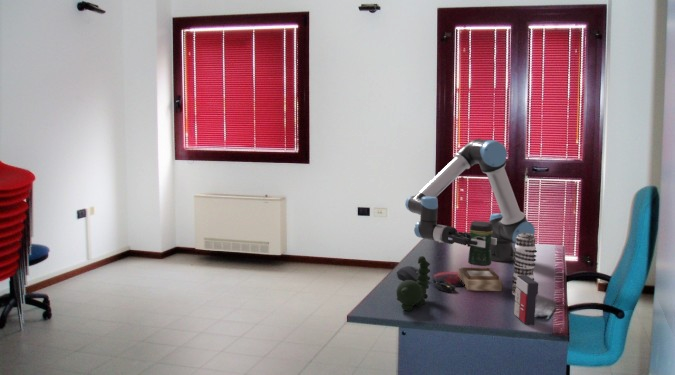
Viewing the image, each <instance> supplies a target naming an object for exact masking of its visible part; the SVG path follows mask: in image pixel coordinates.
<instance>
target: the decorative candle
mask: <svg viewBox="0 0 675 375" xmlns="http://www.w3.org/2000/svg"><path fill="white" fill-rule="evenodd" d="M536 239H537V237H535V234H534V235H533V234H530V233H519V234H518V235H517V236H516V244H515V243H514V244H515V245H514V247H513V249H514V250H513V251H514V253H513V254H514V256H515V257H514V258H513V259H514V261H512V264H513V267H514V270H513V276H512V284H511V294H512V295H513V296H515V291H516V288H517V287H516V283H517V276H518V275H527V276H529V277H530V278H531V279H533V280H534V281H535V277H534V270H535V269H534V268H535V266H536V264H535V263H534V262H536V261H537V259H536V257H537V255H536V254H535V253H537V252H538V251H537V250H536V249H537V247H536Z"/></svg>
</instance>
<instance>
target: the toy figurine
mask: <svg viewBox="0 0 675 375" xmlns="http://www.w3.org/2000/svg"><path fill="white" fill-rule="evenodd" d="M417 264H419V268H418V269H419V270H418V271H419V274H418V276H417V279H418V280H417V282H415V281H413V280H405V281H403V280H402V281H401V282H400V283H399V284H398V286H397V287H396V300H397V302H400V303H401V309H402V310H404V311H407V312H410V311H412V310H413V309H414V306H415V305H416V306H417V307H421V306H422V305H425V304H426V300H427V299H428V297H429V295H428V294H427V290H428V289H429V288H430V285H429V283H427V282H429V281H430V280H431V277H430V276H429V275H428V274H429V273H431V269H429V266H430V265H431V263H430V262H428V261H427V259H426V257H425V256H423V255H420V256H419V257H418V259H417Z"/></svg>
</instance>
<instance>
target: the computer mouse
mask: <svg viewBox="0 0 675 375" xmlns="http://www.w3.org/2000/svg"><path fill="white" fill-rule="evenodd" d="M418 270H419V268H417V267H415V266H412V265H411V266H410V265H406V266H402V267H401V268H399V269H398V270H397V271H396V276H397V278H398V280H401V281H402V282H403V281H405V280H413V281H415V282H417V280H418V279H417V276H418V274H419V271H418ZM427 283H428V284H433V285H435V287H436V288H437V289H438V290H440V291H441V292H443V293H454V292H455V290H456V285H454V284H451V283H449V282H446V281H443V280H436V281H435V282H432V281H431V282H430V281H427Z"/></svg>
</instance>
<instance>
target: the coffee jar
mask: <svg viewBox="0 0 675 375" xmlns="http://www.w3.org/2000/svg"><path fill="white" fill-rule="evenodd" d="M469 233H470V234H471V239H477V240H482V241H486V242H485V248H483V247H478V246H473V245H471V244H470V247H469V252H468V258H467V261H468V262H467V263H468V264H469V265H473V266H478V267H486V266H490V265H492V260H491V235H492V233H493V225H492V223H491V222H489V221H483V220H482V221H480V220H473V221H472V222H470V227H469Z"/></svg>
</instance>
